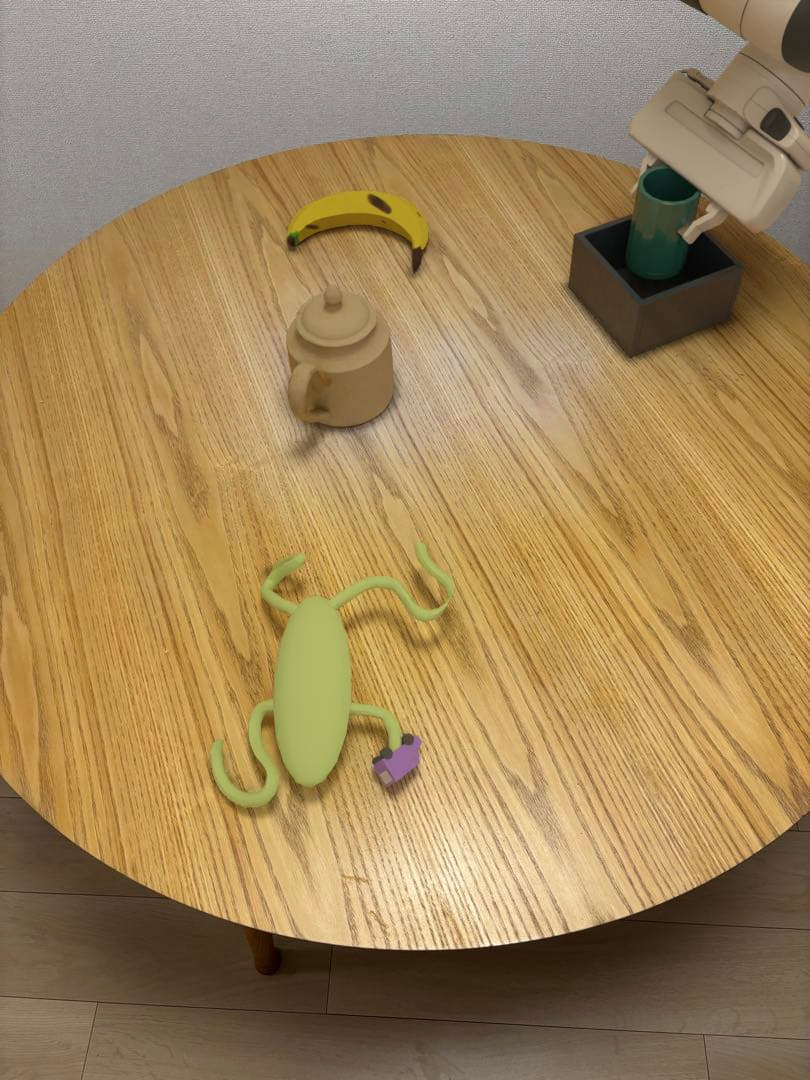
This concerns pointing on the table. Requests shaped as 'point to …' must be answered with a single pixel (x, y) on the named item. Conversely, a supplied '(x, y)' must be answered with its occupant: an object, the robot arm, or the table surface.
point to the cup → (660, 223)
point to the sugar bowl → (339, 360)
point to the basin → (652, 288)
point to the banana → (362, 217)
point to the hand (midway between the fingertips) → (659, 219)
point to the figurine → (322, 688)
